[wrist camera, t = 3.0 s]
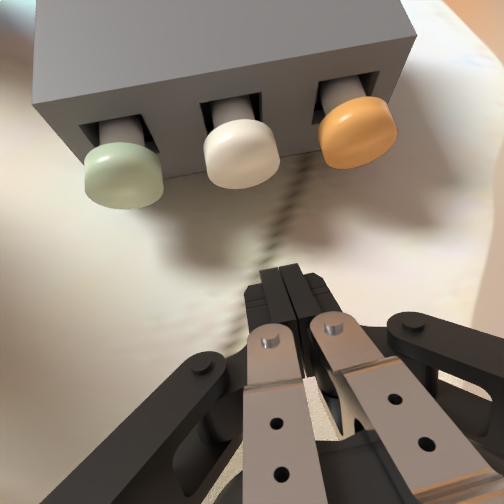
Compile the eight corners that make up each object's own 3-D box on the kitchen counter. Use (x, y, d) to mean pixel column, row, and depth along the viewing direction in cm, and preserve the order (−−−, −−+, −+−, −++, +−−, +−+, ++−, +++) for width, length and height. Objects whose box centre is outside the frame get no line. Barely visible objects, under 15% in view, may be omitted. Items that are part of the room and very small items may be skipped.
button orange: (319, 174, 21) (330, 129, 17) (300, 110, 23) (307, 57, 19) (384, 162, 21) (409, 114, 17) (360, 99, 23) (378, 44, 19)
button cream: (213, 194, 21) (201, 153, 17) (202, 128, 23) (189, 78, 19) (279, 181, 21) (281, 138, 17) (262, 117, 23) (261, 65, 19)
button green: (105, 214, 21) (69, 177, 17) (102, 147, 22) (68, 100, 19) (172, 201, 21) (150, 162, 17) (163, 135, 22) (143, 86, 19)
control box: (104, 190, 24) (31, 104, 17) (100, 81, 28) (37, -30, 20) (371, 140, 25) (417, 35, 17) (334, 40, 28) (358, -84, 21)
